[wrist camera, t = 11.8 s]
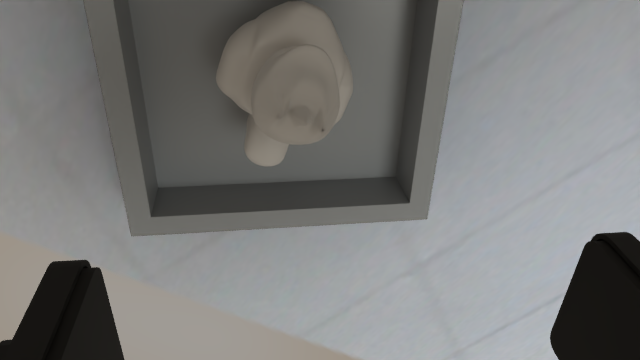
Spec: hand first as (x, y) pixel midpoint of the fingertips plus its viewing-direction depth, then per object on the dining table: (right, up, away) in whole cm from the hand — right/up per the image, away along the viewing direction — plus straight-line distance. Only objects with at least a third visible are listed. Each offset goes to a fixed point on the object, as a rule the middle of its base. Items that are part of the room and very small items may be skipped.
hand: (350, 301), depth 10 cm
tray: (-3, +8, +14) cm, 16 cm away
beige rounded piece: (-2, +7, +13) cm, 15 cm away
